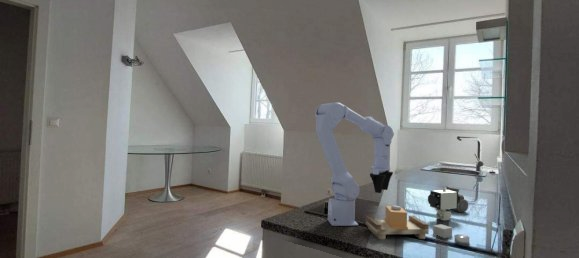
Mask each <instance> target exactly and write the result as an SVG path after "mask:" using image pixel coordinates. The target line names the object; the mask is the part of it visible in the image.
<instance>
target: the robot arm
mask: <svg viewBox="0 0 579 258" xmlns="http://www.w3.org/2000/svg"><path fill="white" fill-rule="evenodd" d="M314 116H315V133H316V136H317V138H318V141H319V143H320V146H321V149H322V151H323V154H324V157H325V159H326V162H327V164H328V165H327V166H328V167H329V170H330V172H331V175H332V176H331V177H330V182H331V185H330V187H331V191H332V193H333V194H334V195H333V196H334V197H333V198H328V202H327V203H328V205H327V221H328V222H329V224H330V225H331V226H333V227H340V226H341V227H343V226H344V227H347V226H351V227H352V226H354V227H355V226H359V223H358V222H357V221H356V220H355V218H356V217H355V216H356V215H355V214H356V200H357V198H358V197H359V195H360V185H359V184H358V182H356V181H355V178H354V177H353V176H352V174H350V173H349V172H348V169H347V167H346V165H345V162H344V159H343V156H342V153H341V151H340V148H339V146H338V142H337V140H336V138H335V134H334V132H333V131H334V130H335V128H336V126H337V125H338V124H339V123H340V122H341V120H343V119H344V120H347V121H348V122H350V123H353V124H355V125H357V126H358V127H359V129H360V130H361V132H364V133H366V134H368V135H370V136H371V137H372V138H373V140H374V166H373V165H372V166H371V169H372V172H370V173H369V177H370V178H371V181H372V184H373V188H374V193H377V194H382V191H383V190H384V191H388V189H389V185H390V181H391V178H392V177H393V175H394V172H393V171H391V166H390V165H391V164H390V163H391V159H390V158H391V145H392V144H391V143H392V140H393V138H394V135H395V132H394V130H393V128H392V126H391V125H388V124H385V125H384V124H383V122H381V121H378V120H375V119H374V117H373V116H370V115H369V116H362V115H360V114H359V113H357V112H356V111H354V110H352V109H351V108H349V107H348V106H347V105H346V104H342V103H341V102H338V101H337V102H336V101H335V102H331V103H330V102H329V103H321V104H319V105H318V106H317V108H316V110H315V112H314Z"/></svg>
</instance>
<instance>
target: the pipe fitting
mask: <svg viewBox="0 0 579 258" xmlns="http://www.w3.org/2000/svg"><path fill="white" fill-rule="evenodd" d="M446 190H452V191H456V192H458V195H459V196H460V203H459V204H458V208H453V209H452V210H454V211H455V212H458V213H460V214H463V213H465V212H467V210H468V209H469V201H468V200H467V199H465V196H464V195H463V194H461V193H459V191H460V188H458V187H457V186H453V185H446Z"/></svg>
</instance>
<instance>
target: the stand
mask: <svg viewBox="0 0 579 258" xmlns="http://www.w3.org/2000/svg"><path fill="white" fill-rule="evenodd" d="M429 225H430V224H429V223H427V222H426V221H424V220H421V219H420V218H418V217H417V216H415V215H408V219H407V227H408V230H406V229H391V227H390V226H389V225H388V223H387V222H386V221H385V219H375V217H373V216H371V215H365V226H367V227H368V230H369V231H370V232H371V233H372V234H373V235H374V236H375V237H376V238H377V239H379V240H386V236H387V235H413V234H414V236H415V237H416V238H418V239H420V240H425V239H426V235H429V232H430V231H429V230H430V229H429V227H430V226H429Z"/></svg>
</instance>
